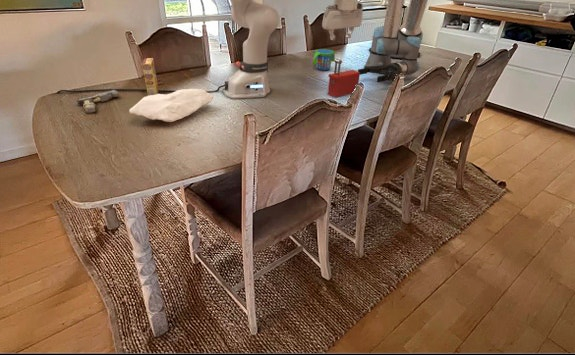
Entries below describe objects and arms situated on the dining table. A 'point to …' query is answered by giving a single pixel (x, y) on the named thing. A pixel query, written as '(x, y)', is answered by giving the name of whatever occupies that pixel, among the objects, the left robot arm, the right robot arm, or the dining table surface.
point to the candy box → (150, 76)
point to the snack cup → (323, 58)
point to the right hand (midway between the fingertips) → (367, 75)
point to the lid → (342, 74)
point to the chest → (342, 86)
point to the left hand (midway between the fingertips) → (340, 38)
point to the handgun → (95, 100)
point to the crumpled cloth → (171, 104)
